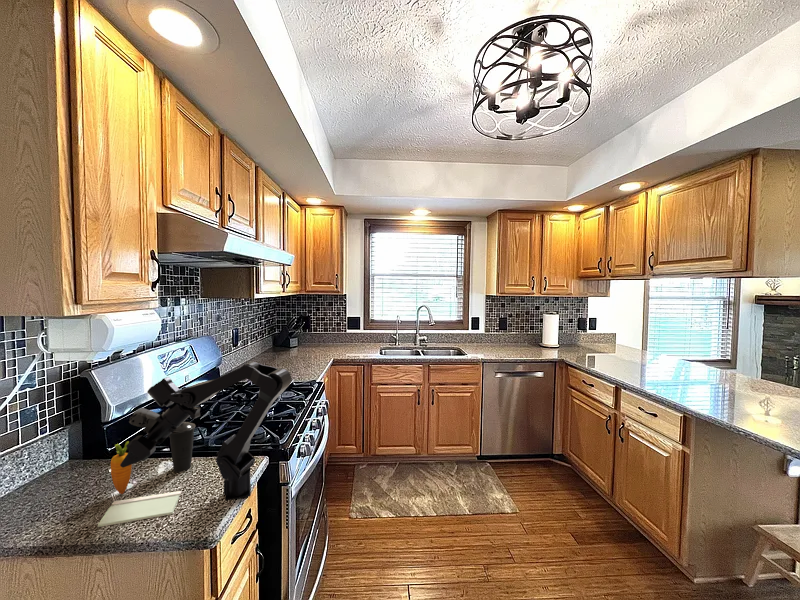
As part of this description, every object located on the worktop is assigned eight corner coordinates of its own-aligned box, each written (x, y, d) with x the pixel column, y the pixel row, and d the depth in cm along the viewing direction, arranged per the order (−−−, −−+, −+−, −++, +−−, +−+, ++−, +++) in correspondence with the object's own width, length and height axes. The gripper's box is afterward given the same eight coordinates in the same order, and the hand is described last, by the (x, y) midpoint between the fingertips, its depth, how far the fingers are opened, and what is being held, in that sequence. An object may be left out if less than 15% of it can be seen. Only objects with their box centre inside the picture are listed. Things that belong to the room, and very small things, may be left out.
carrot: (129, 487, 109) (128, 437, 108) (135, 493, 105) (134, 441, 105) (108, 494, 105) (107, 442, 104) (113, 501, 102) (112, 447, 101)
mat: (179, 497, 104) (179, 495, 104) (172, 514, 96) (172, 511, 96) (110, 508, 98) (110, 506, 98) (97, 527, 91) (97, 524, 91)
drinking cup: (163, 470, 118) (162, 409, 117) (186, 460, 125) (185, 402, 124) (177, 476, 115) (177, 413, 114) (200, 466, 121) (200, 406, 121)
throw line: (181, 492, 106) (181, 490, 106) (180, 494, 105) (180, 493, 105) (114, 502, 101) (114, 501, 101) (112, 505, 99) (112, 504, 99)
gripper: (164, 390, 115) (124, 427, 113) (134, 410, 96) (86, 455, 95) (192, 414, 117) (153, 450, 115) (168, 438, 98) (121, 482, 97)
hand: (130, 458), depth 105 cm, fingers open, 9 cm apart
